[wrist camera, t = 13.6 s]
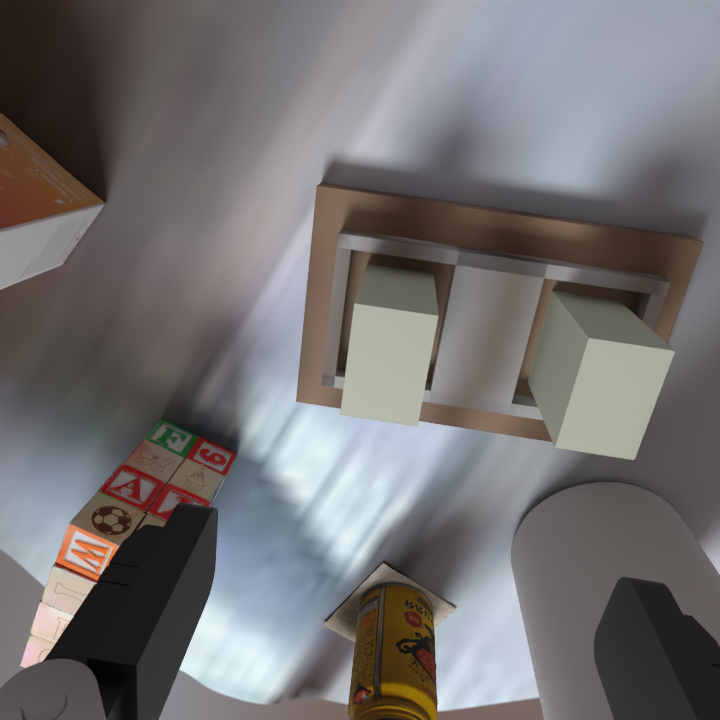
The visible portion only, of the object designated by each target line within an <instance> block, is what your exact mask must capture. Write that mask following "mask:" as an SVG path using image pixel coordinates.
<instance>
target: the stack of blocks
mask: <svg viewBox="0 0 720 720" xmlns="http://www.w3.org/2000/svg"><path fill="white" fill-rule="evenodd" d="M236 457H237V454H236V453H234V452H232V451H230V450H227V449H225V448H223V447H221V446H219V445H217V444H215V443H212V442H210V441H208V440H206V439H204V438H202V437H198V436H196V435H194V434H192V433H190V432H188V431H186V430H184V429H182V428H179V427H177V426H175V425H173V424H171V423H169V422H167V421H165V420H163V419H161V420H160V421H159V422H158V423H157V424H156V425H155V426H154V427H153V428H152V429H151V430H150V431H149V433H148V434H147V435H146V436H145V437H144V438H143V439H142V442H141V443H140V445H139V446H138V447H137V448H136V449H135V450H134V451H133V452H132V453H131V455H130V456H129V457H128V458H127V459H126V461H125V462H124V464H121V465H120V466H119V467H118V468H117V469H116V470H115V471H114V472H113V474H112V475H111V476H110V477H109V478H108V479H107V480H106V482H105V483H104V484H103V485H102V486H101V488H100V489H99V490H98V492H97V493H96V494H95V495H94V496H93V497H92V499H91V500H90V501H89V502H88V503H87V504H86V505H85V506H84V507H83V508H82V509H81V511H80V512H79V513H78V514H77V515H76V516H75V517H74V518H73V519H72V521H71V522H70V523H69V525H68V528H67V530H66V533H65V536H64V539H63V542H62V545H61V548H60V551H59V553H58V556H57V559H56V562H55V564H54V565H53V567H52V569H51V572H50V575H49V579H48V582H47V585H46V588H45V591H44V595H43V598H42V600H41V601H40V603H39V606H38V609H37V612H36V615H35V619H34V622H33V625H32V628H31V635H30V637H29V639H28V642H27V646H26V649H25V652H24V655H23V658H22V661H21V666H22V667H25V668H27V667H29V666H32V665H34V664H36V663H39V662H42V661H43V660H44V659H45V658H46V656H47V655H48V654H49V653H50V651H51V650H52V648H53V647H54V645H55V643H56V642H57V640H58V639H59V637H60V636H61V634H62V633H63V631H64V630H65V628H66V627H67V625H68V624H69V622H70V621H71V619H72V618H73V616H74V615H75V613H76V612H77V610H78V609H79V607H80V606H81V604H82V603H83V601H84V600H85V598H86V597H87V595H88V593H89V592H90V590H91V589H92V587H93V586H94V584H97V581H98V578H99V577H100V575H101V574H102V572H103V571H104V569H105V568H106V566H108V565H109V562H110V560H111V559H112V557H113V556H114V554H115V553H116V551H117V550H118V548H119V547H120V545H121V543H122V542H123V541H124V540H125V539H126V538H128V537H129V536H130V535H132V534H133V533H134V532H136V531H137V530H139V529H140V528H141V527H143V526H144V525H145V524H149V525H155V526H161V527H164V525H165V523H166V522H167V520H168V518H169V517H170V515H171V513H172V511H173V510H174V508H175V506H176V505H177V504H178V503H179V502H183V503H189V504H195V505H201V506H207V507H211V506H212V504H213V502H214V500H215V498H216V496H217V494H218V493H219V491H220V489H221V487H222V485H223V483H224V481H225V479H226V477H227V475H228V473H229V471H230V469H231V467H232V465H233V463H234V461H235V459H236Z"/></svg>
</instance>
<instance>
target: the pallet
mask: <svg viewBox="0 0 720 720" xmlns="http://www.w3.org/2000/svg"><path fill="white" fill-rule="evenodd" d="M703 243H704V242H702V241H700V240H698V239H695V238H693V237H688V236H681V235H675V234H668V233H661V232H654V231H647V230H640V229H633V228H626V227H620V226H613V225H606V224H599V223H592V222H585V221H578V220H571V219H565V218H558V217H551V216H544V215H537V214H530V213H523V212H516V211H510V210H503V209H496V208H489V207H482V206H475V205H468V204H461V203H455V202H448V201H441V200H434V199H427V198H420V197H413V196H406V195H400V194H393V193H386V192H379V191H372V190H365V189H358V188H351V187H345V186H338V185H331V184H324V183H320V184H319V185H317V190H316V200H315V211H314V221H313V231H312V242H311V252H310V263H309V273H308V283H307V294H306V304H305V314H304V325H303V335H302V346H301V356H300V366H299V377H298V387H297V398H296V402H302V403H309V404H315V405H321V406H328V407H334V408H340V409H341V404H342V396H343V388H344V380H345V372H346V364H347V356H348V349H349V341H350V333H351V325H352V317H353V309H354V303H355V300H356V297H357V294H358V291H359V288H360V284H361V281H362V278H363V275H364V272H365V269H366V266H367V264H372V265H379V266H386V267H392V268H399V269H406V270H413V271H420V272H427V273H434V281H435V289H436V298H437V307H438V321H437V327H436V332H435V337H434V343H433V348H432V353H431V358H430V364H429V369H428V374H427V379H426V385H425V390H424V395H423V401H422V406H421V411H420V416H419V421H423V422H429V423H436V424H442V425H448V426H455V427H461V428H467V429H474V430H480V431H486V432H493V433H499V434H505V435H512V436H518V437H525V438H531V439H537V440H544V441H550V442H552V439H551V437H550V434H549V432H548V430H547V427H546V425H545V423H544V420H543V418H542V415H541V413H540V411H539V408H538V406H537V404H536V401H535V399H534V396H533V394H532V392H531V389H530V387H529V385H528V382H527V380H528V376H529V373H530V369H531V365H532V362H533V358H534V354H535V350H536V347H537V343H538V339H539V336H540V332H541V328H542V325H543V321H544V317H545V313H546V310H547V306H548V302H549V299H550V295H551V291H558V292H565V293H572V294H578V295H585V296H592V297H598V298H605V299H612V300H619V301H620V302H621V303H623V304H624V305H625V306H626V307H627V308H628V309H629V310H630V311H631V312H633V313H634V314H635V315H636V316H637V317H638V318H639V319H640V320H641V321H643V322H644V323H645V324H646V325H647V326H648V327H649V328H650V329H651V330H653V331H654V332H655V333H656V334H657V335H658V336H659V337H660V338H661V339H662V340H664V341H665V342H666V343H667V341H668V338H669V336H670V333H671V330H672V327H673V325H674V322H675V319H676V317H677V314H678V311H679V308H680V306H681V303H682V300H683V297H684V295H685V292H686V289H687V287H688V284H689V281H690V278H691V276H692V273H693V270H694V267H695V265H696V262H697V259H698V256H699V254H700V251H701V248H702V246H703Z"/></svg>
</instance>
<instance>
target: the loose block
mask: <svg viewBox="0 0 720 720" xmlns="http://www.w3.org/2000/svg"><path fill="white" fill-rule="evenodd" d="M437 321H438V307H437V298H436V289H435V281H434V273H427V272H420V271H413V270H406V269H399V268H392V267H386V266H379V265H372V264H367V266H366V269H365V272H364V275H363V278H362V281H361V284H360V288H359V291H358V294H357V297H356V300H355V303H354V309H353V317H352V325H351V333H350V341H349V349H348V356H347V364H346V372H345V380H344V388H343V396H342V404H341V411H340V415H345V416H352V417H358V418H365V419H371V420H378V421H384V422H391V423H397V424H404V425H410V426H417V427H418V422H419V416H420V411H421V406H422V401H423V395H424V390H425V385H426V379H427V374H428V369H429V364H430V358H431V353H432V348H433V343H434V337H435V332H436V327H437Z"/></svg>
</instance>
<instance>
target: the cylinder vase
mask: <svg viewBox="0 0 720 720" xmlns="http://www.w3.org/2000/svg"><path fill="white" fill-rule="evenodd" d="M511 565H512V570H513V575H514V579H515V584H516V589H517V594H518V598H519V603H520V608H521V612H522V617H523V622H524V626H525V631H526V636H527V640H528V645H529V650H530V654H531V659H532V664H533V669H534V673H535V678H536V683H537V687H538V692H539V697H540V701H541V706H542V710H543V715H544V720H614V718H613V715H612V712H611V709H610V706H609V703H608V700H607V697H606V694H605V692H604V689H603V686H602V683H601V680H600V677H599V674H598V671H597V668H596V664H595V660H594V637H595V633H596V630H597V627H598V625H599V623H600V620H601V618H602V615H603V613H604V611H605V608H606V606H607V604H608V601H609V599H610V597H611V594H612V592H613V590H614V587H615V585H616V583H617V581H618V580H619V579H620V578H621V577H631V578H637V579H643V580H649V581H655V582H661V583H664V584H665V585H666V586H667V587H668V588H669V590H670V591H671V593H672V595H673V597H674V599H675V600H676V602H677V604H678V606H679V608H680V610H681V611H682V613H683V614H685V615H691V616H693V617H694V618H695V619H696V620H697V621H698V622H699V623H700V625H701V626H702V627H703V628H704V629H705V630H706V631H707V632H708V633H709V634H710V635H711V636H712V637H713V638H714V639H715V640H716V641H717V643H718V645H719V646H720V575H719V573H718V572H717V570H716V569H715V567H714V566H713V564H712V563H711V561H710V560H709V558H708V557H707V555H706V554H705V552H704V551H703V549H702V548H701V546H700V545H699V543H698V542H697V540H696V539H695V537H694V536H693V534H692V533H691V531H690V530H689V528H688V526H687V525H686V523H685V522H684V520H683V519H682V517H681V516H680V515H679V513H678V512H677V511H676V510H675V509H674V508H673V507H672V506H671V505H670V504H669V503H668V502H666V501H665V500H664V499H662V498H661V497H659V496H658V495H656V494H654V493H652V492H650V491H648V490H646V489H643V488H640V487H637V486H634V485H630V484H625V483H618V482H592V483H586V484H581V485H576V486H573V487H570V488H567V489H564V490H562V491H559V492H557V493H555V494H553V495H551V496H550V497H548V498H546V499H545V500H543V501H542V502H541V503H539V504H538V505H537V506H536V507H535V508H533V509H532V510H531V511H530V512H529V514H528V515H527V516H526V517H525V518H524V520H523V521H522V523H521V524H520V526H519V528H518V530H517V532H516V534H515V537H514V540H513V544H512V549H511Z"/></svg>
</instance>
